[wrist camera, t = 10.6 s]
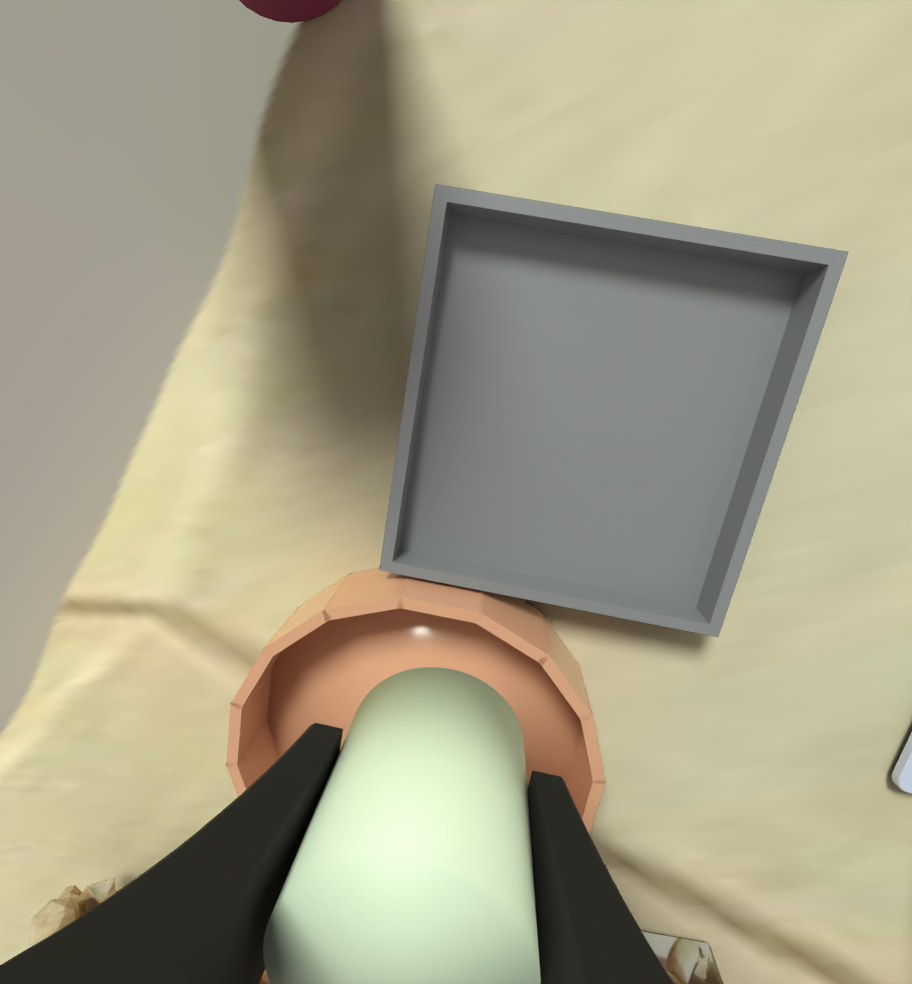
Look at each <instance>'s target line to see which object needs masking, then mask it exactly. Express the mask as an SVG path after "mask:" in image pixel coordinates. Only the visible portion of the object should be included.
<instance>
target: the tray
mask: <svg viewBox="0 0 912 984" xmlns="http://www.w3.org/2000/svg"><path fill="white" fill-rule="evenodd" d="M847 255H848V252H847V251H841V250H835V249H829V248H823V247H816V246H810V245H804V244H798V243H792V242H786V241H780V240H774V239H768V238H762V237H755V236H749V235H743V234H737V233H731V232H725V231H719V230H713V229H707V228H701V227H694V226H688V225H682V224H676V223H670V222H664V221H658V220H652V219H646V218H640V217H633V216H627V215H621V214H615V213H609V212H603V211H597V210H591V209H585V208H579V207H572V206H566V205H560V204H554V203H548V202H542V201H536V200H530V199H524V198H518V197H511V196H505V195H499V194H493V193H487V192H481V191H475V190H469V189H463V188H456V187H450V186H444V185H438V184H435V190H434V196H433V203H432V210H431V217H430V224H429V231H428V238H427V245H426V252H425V259H424V265H423V272H422V279H421V286H420V293H419V300H418V307H417V314H416V321H415V328H414V334H413V341H412V348H411V355H410V362H409V369H408V376H407V383H406V390H405V397H404V403H403V410H402V417H401V424H400V431H399V438H398V445H397V452H396V459H395V465H394V472H393V479H392V486H391V493H390V500H389V507H388V514H387V521H386V528H385V534H384V541H383V548H382V555H381V562H380V569H379V570H380V571H385V572H390V573H395V574H400V575H405V576H410V577H415V578H420V579H425V580H430V581H435V582H441V583H446V584H451V585H456V586H461V587H466V588H471V589H476V590H481V591H486V592H491V593H496V594H501V595H507V596H512V597H517V598H522V599H527V600H532V601H537V602H542V603H547V604H552V605H557V606H562V607H567V608H573V609H578V610H583V611H588V612H593V613H598V614H603V615H608V616H613V617H618V618H623V619H628V620H634V621H639V622H644V623H649V624H654V625H659V626H664V627H669V628H674V629H679V630H684V631H689V632H694V633H700V634H705V635H710V636H715V637H718V636H719V633H720V630H721V627H722V624H723V621H724V618H725V616H726V613H727V610H728V607H729V604H730V601H731V598H732V595H733V592H734V589H735V586H736V583H737V580H738V577H739V574H740V571H741V568H742V565H743V562H744V559H745V556H746V554H747V551H748V548H749V545H750V542H751V539H752V536H753V533H754V530H755V527H756V524H757V521H758V518H759V515H760V512H761V509H762V506H763V503H764V500H765V497H766V494H767V492H768V489H769V486H770V483H771V480H772V477H773V474H774V471H775V468H776V465H777V462H778V459H779V456H780V453H781V450H782V447H783V444H784V441H785V438H786V435H787V432H788V430H789V427H790V424H791V421H792V418H793V415H794V412H795V409H796V406H797V403H798V400H799V397H800V394H801V391H802V388H803V385H804V382H805V379H806V376H807V373H808V370H809V368H810V365H811V362H812V359H813V356H814V353H815V350H816V347H817V344H818V341H819V338H820V335H821V332H822V329H823V326H824V323H825V320H826V317H827V314H828V311H829V308H830V305H831V303H832V300H833V297H834V294H835V291H836V288H837V285H838V282H839V279H840V276H841V273H842V270H843V267H844V264H845V261H846V258H847Z"/></svg>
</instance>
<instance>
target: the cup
mask: <svg viewBox="0 0 912 984" xmlns="http://www.w3.org/2000/svg"><path fill="white" fill-rule="evenodd" d="M240 1H241V2H242V3H243V4H244V5H245V6H246V7H247V8H249V9H251V10H252V11H254V12H255V13H257V14H259V15H260V16H263V17H266V18H269V19H272V20H275V21H280V22H291V23H293V22H300V21H306V20H310V19H312V18H315V17H317V16H320V15H322V14H324V13H325V12H327V11H328V10H330V9H331V8H332V7H334V6H335V5H337V4H338V3H339V1H340V0H240Z"/></svg>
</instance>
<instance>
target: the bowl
mask: <svg viewBox="0 0 912 984" xmlns="http://www.w3.org/2000/svg"><path fill="white" fill-rule="evenodd" d="M379 569H380V568H379ZM379 569H374V570H368V571H363V572H357V573H352V574H348V575H347V576H346V577H344V578H343V579H341V580H340V581H338V582H337V583H335V584H334V585H332V586H331V587H329V588H328V589H326V590H325V591H323V592H322V593H320V594H318V595H317V596H315V597H314V598H312V599H311V600H309V601H308V602H306V603H305V604H303V605H302V606H300V607H298V609H297V610H296V611H295V612H294V613H293V614H292V616H291V617H290V618H289V619H288V620H287V621H286V623H285V624H284V625H283V626H282V627H281V628H280V630H279V631H278V632H277V633H276V634H275V635H274V637H273V638H272V639H271V640H270V641H269V643H268V644H267V645H266V646H265V647H264V648H263V651H262V652H261V654H260V656H259V657H258V659H257V661H256V662H255V664H254V666H253V667H252V669H251V671H250V672H249V674H248V676H247V677H246V679H245V681H244V682H243V684H242V686H241V687H240V689H239V691H238V692H237V694H236V696H235V697H234V699H233V701H232V702H231V708H230V722H229V737H228V751H227V764H226V766H227V768H228V770H229V773H230V776H231V778H232V781H233V784H234V786H235V789H236V792H237V794H238V797H239V796H240V795H241V794H242V793H243V792H244V791H245V790H246V789H247V788H248V787H250V786H251V785H252V784H253V783H254V782H255V781H256V780H257V779H258V778H259V777H260V776H261V775H262V774H263V773H265V772H266V771H267V770H268V769H269V768H270V767H271V766H272V765H273V764H274V763H275V762H276V761H277V760H278V759H279V758H280V757H281V756H282V755H283V754H284V753H285V752H286V751H287V750H288V749H289V748H290V747H291V746H292V745H293V744H294V742H295V741H296V740H297V739H298V738H299V737H300V736H301V735H302V734H303V733H304V732H305V731H306V729H307V728H308V727H309V726H310V725H312V724H314V723H319V724H324V725H328V726H333V727H337V728H342V729H343V733H342V740H341V746H340V750H341V747H342V745H343V742H344V740H345V738H346V735H347V733H348V731H349V728H350V726H351V723H352V721H353V719H354V716H355V714H356V712H357V709H358V707H359V705H360V704H361V702H362V701H363V699H364V698H365V696H366V695H367V694H368V693H369V692H370V691H371V690H372V689H373V688H374V687H375V686H376V685H378V684H379V683H380V682H382V681H383V680H385V679H387V678H388V677H390V676H393V675H395V674H397V673H400V672H403V671H406V670H410V669H415V668H423V667H439V668H447V669H453V670H457V671H460V672H464V673H467V674H469V675H471V676H474V677H476V678H478V679H480V680H481V681H483V682H485V683H487V684H488V685H489V686H491V687H492V688H493V689H495V690H496V691H497V692H498V693H499V694H500V695H501V696H502V697H503V698H504V699H505V700H506V701H507V703H508V704H509V705H510V706H511V708H512V709H513V711H514V713H515V714H516V716H517V718H518V721H519V723H520V726H521V729H522V733H523V738H524V749H525V763H526V778H527V789H528V785H529V781H530V778H531V774H532V770H533V771H538V772H542V773H547V774H551V775H556V776H561V777H562V778H563V780H564V781H565V783H566V785H567V788H568V790H569V792H570V794H571V796H572V799H573V801H574V803H575V805H576V807H577V810H578V812H579V814H580V816H581V818H582V820H583V822H584V824H585V826H586V829H587V831H588V833H589V835H590V831H591V828H592V825H593V821H594V818H595V815H596V811H597V808H598V805H599V801H600V798H601V795H602V791H603V788H604V785H605V778H604V773H603V768H602V763H601V757H600V752H599V747H598V741H597V736H596V731H595V725H594V720H593V714H592V710H591V706H590V703H589V699H588V695H587V692H586V688H585V684H584V681H583V677H582V673H581V670H580V666H579V663H577V661H576V660H575V658H574V657H573V656H572V654H571V653H570V651H569V650H568V648H567V647H566V646H565V644H564V643H563V641H562V640H561V639H560V637H559V636H558V634H557V633H556V632H555V630H554V629H553V627H552V626H551V625H550V623H549V622H548V620H547V619H546V618H545V616H544V615H543V613H542V612H541V611H539V610H538V609H536V608H535V607H533V606H531V605H530V604H528V603H527V602H525V601H523V600H522V599H520V598H517V597H512V596H507V595H501V594H496V593H491V592H486V591H481V590H476V589H471V588H466V587H461V586H456V585H451V584H446V583H441V582H435V581H430V580H425V579H420V578H415V577H410V576H405V575H400V574H395V573H390V572H385V571H380V570H379Z"/></svg>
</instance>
